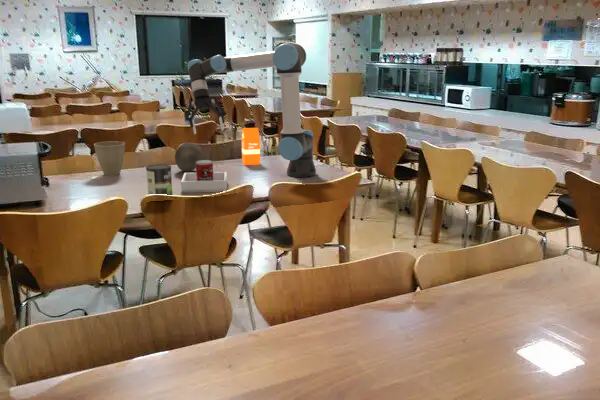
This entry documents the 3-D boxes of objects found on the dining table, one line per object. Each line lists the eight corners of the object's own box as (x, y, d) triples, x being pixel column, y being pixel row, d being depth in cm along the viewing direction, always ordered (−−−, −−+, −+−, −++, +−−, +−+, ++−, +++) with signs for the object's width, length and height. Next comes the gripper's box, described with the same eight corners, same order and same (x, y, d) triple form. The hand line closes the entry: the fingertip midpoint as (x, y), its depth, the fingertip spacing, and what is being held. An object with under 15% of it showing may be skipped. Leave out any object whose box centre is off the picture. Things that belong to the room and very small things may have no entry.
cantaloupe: (170, 173, 275) (168, 144, 271) (182, 168, 288) (181, 140, 284) (195, 175, 272) (194, 146, 268) (207, 169, 285) (205, 141, 281)
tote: (227, 181, 259) (226, 171, 257) (226, 191, 241) (226, 180, 240) (185, 182, 256) (184, 172, 255) (181, 192, 239) (180, 181, 238)
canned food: (197, 187, 244) (196, 163, 241) (196, 183, 251) (195, 160, 248) (214, 186, 246) (213, 163, 243) (212, 182, 253) (211, 159, 250)
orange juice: (242, 162, 304) (241, 127, 298) (257, 161, 306) (256, 126, 301) (244, 165, 296) (243, 129, 291) (260, 164, 299) (259, 128, 293)
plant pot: (115, 178, 264) (112, 146, 260) (90, 176, 268) (87, 145, 264) (133, 172, 277) (131, 142, 273) (109, 170, 282) (106, 140, 278)
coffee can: (176, 196, 233) (175, 164, 230) (166, 202, 224) (164, 169, 220) (155, 194, 235) (152, 163, 232) (143, 201, 226) (141, 168, 222)
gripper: (223, 91, 270) (232, 131, 267) (174, 96, 262) (182, 137, 259) (226, 85, 263) (235, 125, 260) (175, 90, 255) (184, 132, 252)
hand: (209, 131), depth 260 cm, fingers open, 13 cm apart
